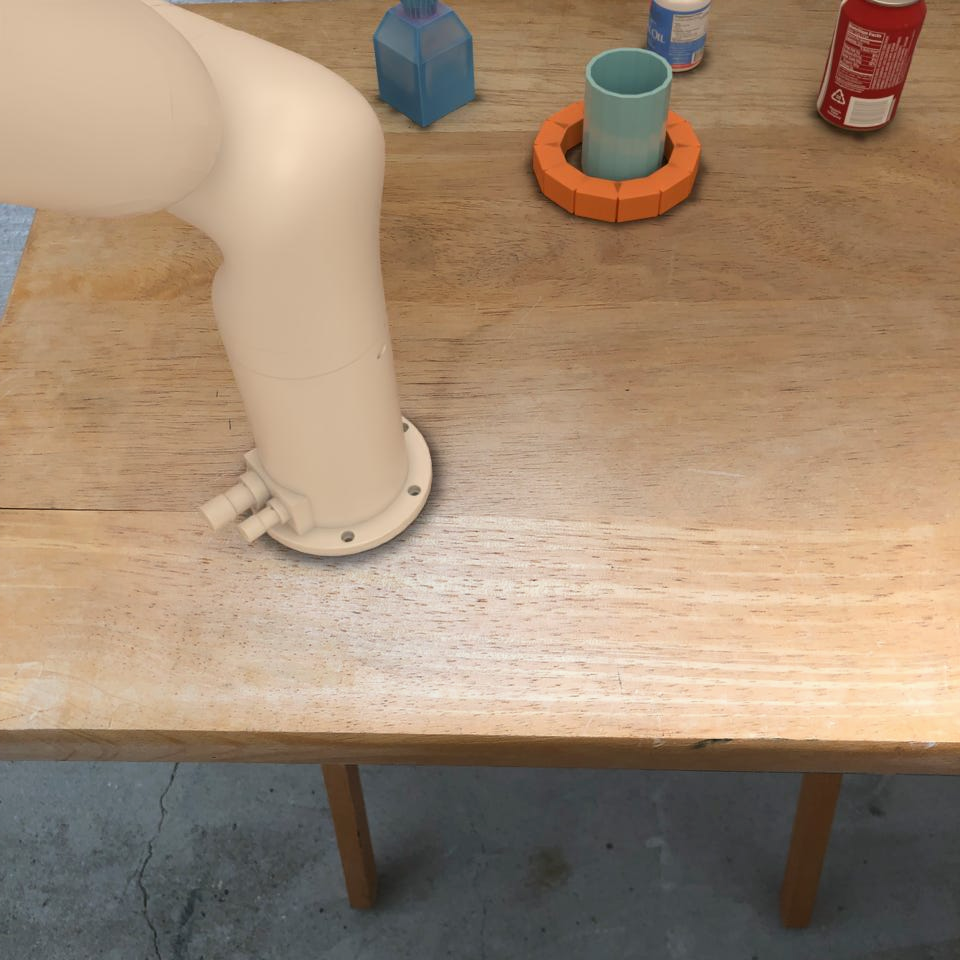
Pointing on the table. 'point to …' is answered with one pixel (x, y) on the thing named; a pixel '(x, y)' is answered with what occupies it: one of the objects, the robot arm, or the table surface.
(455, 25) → the perfume bottle
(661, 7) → the pill bottle
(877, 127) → the soda can
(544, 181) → the ring
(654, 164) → the cup
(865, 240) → the table surface
